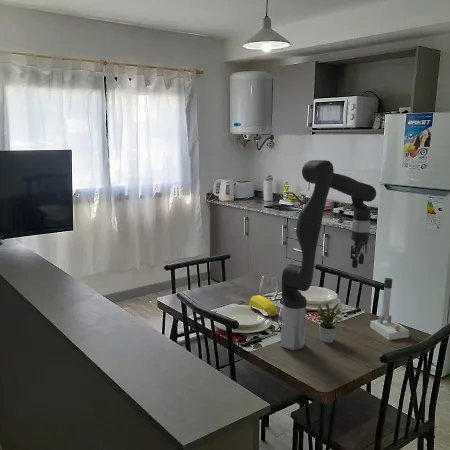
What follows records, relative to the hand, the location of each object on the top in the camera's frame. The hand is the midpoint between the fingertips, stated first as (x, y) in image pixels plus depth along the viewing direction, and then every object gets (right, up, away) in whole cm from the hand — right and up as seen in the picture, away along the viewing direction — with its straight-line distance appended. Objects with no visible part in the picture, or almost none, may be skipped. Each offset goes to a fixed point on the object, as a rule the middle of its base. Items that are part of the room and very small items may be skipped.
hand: (357, 265), depth 205 cm
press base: (+11, -28, -7) cm, 31 cm away
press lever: (+11, -24, -5) cm, 26 cm away
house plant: (-16, -30, -15) cm, 37 cm away
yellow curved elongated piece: (-42, -23, +13) cm, 50 cm away
